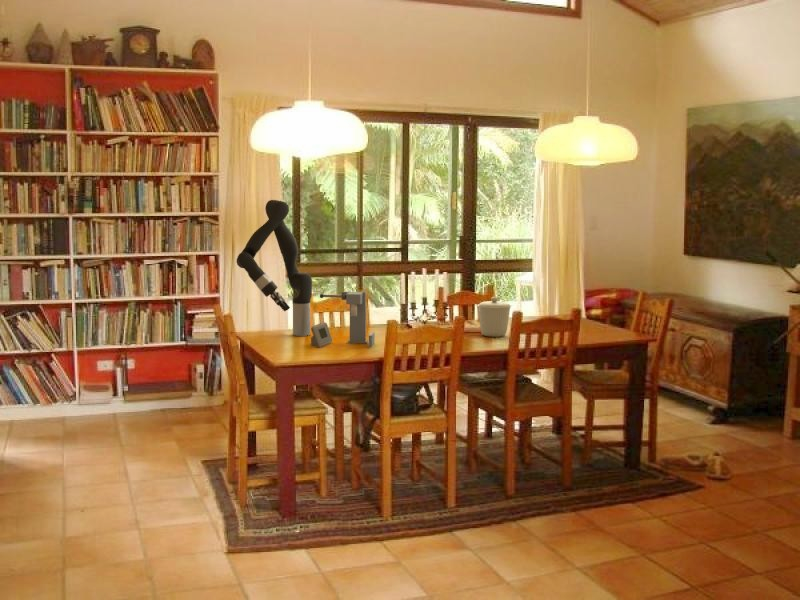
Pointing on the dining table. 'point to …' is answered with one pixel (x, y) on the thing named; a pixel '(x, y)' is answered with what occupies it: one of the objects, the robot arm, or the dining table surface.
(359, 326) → the press
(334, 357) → the dining table surface
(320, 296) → the lever
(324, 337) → the digital clock
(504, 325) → the canister
